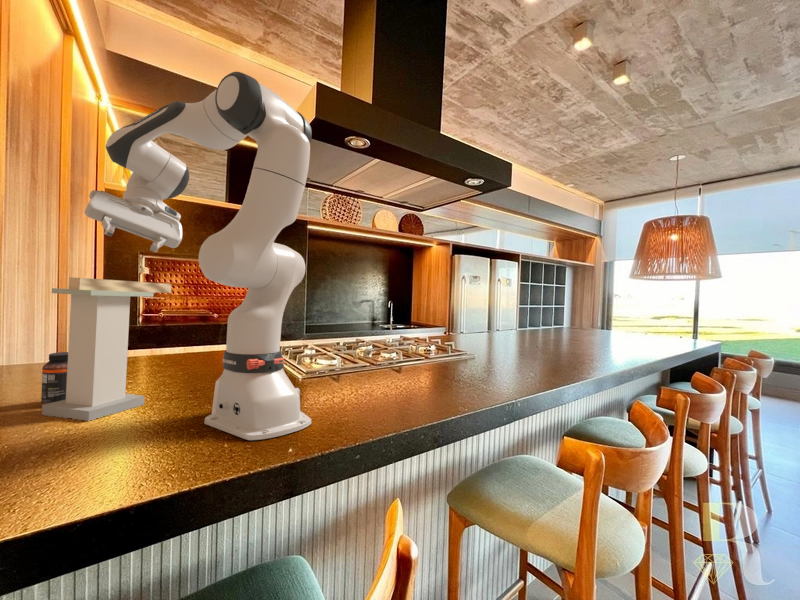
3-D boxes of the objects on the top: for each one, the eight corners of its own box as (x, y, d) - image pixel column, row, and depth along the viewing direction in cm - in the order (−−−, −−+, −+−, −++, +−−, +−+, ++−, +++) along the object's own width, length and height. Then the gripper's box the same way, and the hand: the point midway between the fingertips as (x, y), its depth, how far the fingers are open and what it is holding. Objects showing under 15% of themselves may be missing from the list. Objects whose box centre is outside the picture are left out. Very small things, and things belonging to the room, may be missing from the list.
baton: (162, 292, 93) (162, 283, 93) (170, 293, 92) (171, 283, 92) (68, 289, 71) (69, 277, 71) (79, 289, 71) (80, 277, 71)
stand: (110, 396, 85) (116, 290, 85) (151, 402, 83) (157, 292, 83) (41, 414, 72) (48, 288, 72) (88, 421, 69) (95, 290, 69)
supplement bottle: (76, 397, 83) (79, 350, 83) (77, 404, 79) (80, 354, 79) (41, 402, 79) (43, 352, 79) (40, 408, 75) (42, 356, 75)
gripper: (97, 178, 85) (82, 213, 77) (187, 217, 99) (182, 250, 91) (88, 196, 88) (73, 231, 80) (177, 231, 102) (172, 265, 94)
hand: (132, 242), depth 86 cm, fingers open, 8 cm apart
